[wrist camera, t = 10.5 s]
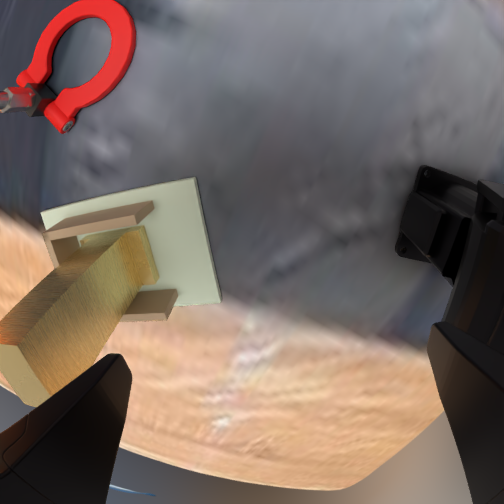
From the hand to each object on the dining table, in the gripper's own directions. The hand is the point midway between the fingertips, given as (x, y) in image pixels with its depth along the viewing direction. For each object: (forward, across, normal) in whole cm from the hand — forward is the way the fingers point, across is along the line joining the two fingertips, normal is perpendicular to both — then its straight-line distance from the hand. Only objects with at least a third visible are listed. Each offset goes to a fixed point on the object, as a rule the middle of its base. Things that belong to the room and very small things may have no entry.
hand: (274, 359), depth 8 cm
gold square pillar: (+13, +11, +2) cm, 17 cm away
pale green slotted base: (+13, +11, +2) cm, 17 cm away
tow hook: (+14, +11, -13) cm, 22 cm away
